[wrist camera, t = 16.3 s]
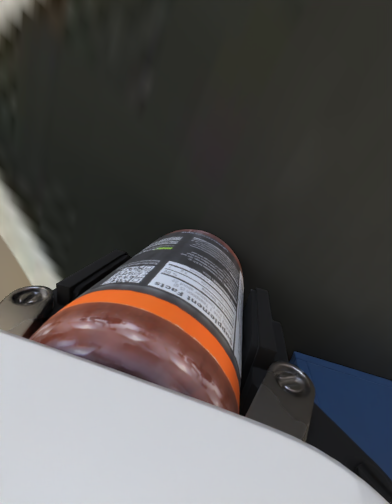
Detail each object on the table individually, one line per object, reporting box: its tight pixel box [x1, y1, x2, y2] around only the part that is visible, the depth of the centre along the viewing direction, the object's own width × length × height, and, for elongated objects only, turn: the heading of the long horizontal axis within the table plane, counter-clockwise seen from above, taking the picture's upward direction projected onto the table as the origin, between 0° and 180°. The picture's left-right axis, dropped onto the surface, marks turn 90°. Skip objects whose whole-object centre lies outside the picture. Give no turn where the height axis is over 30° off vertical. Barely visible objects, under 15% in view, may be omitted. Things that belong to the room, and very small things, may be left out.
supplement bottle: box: [29, 229, 244, 414], centre depth 8 cm, size 6×6×11 cm
